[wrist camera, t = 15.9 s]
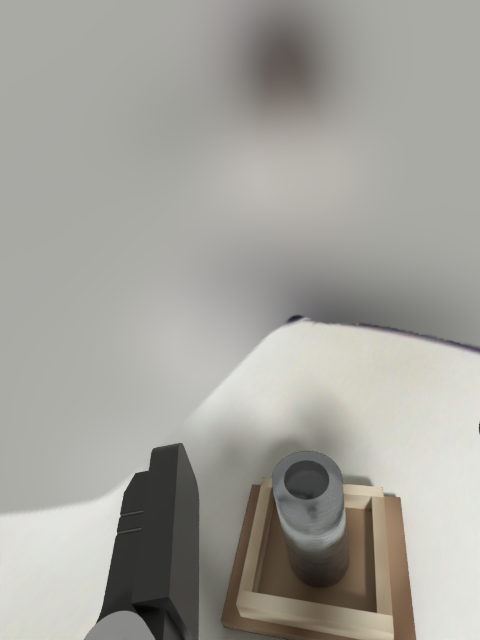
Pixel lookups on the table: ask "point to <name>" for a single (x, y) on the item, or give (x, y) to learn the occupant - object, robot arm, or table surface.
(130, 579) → the robot arm
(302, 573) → the steel tube
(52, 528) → the table surface
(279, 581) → the wooden tray
